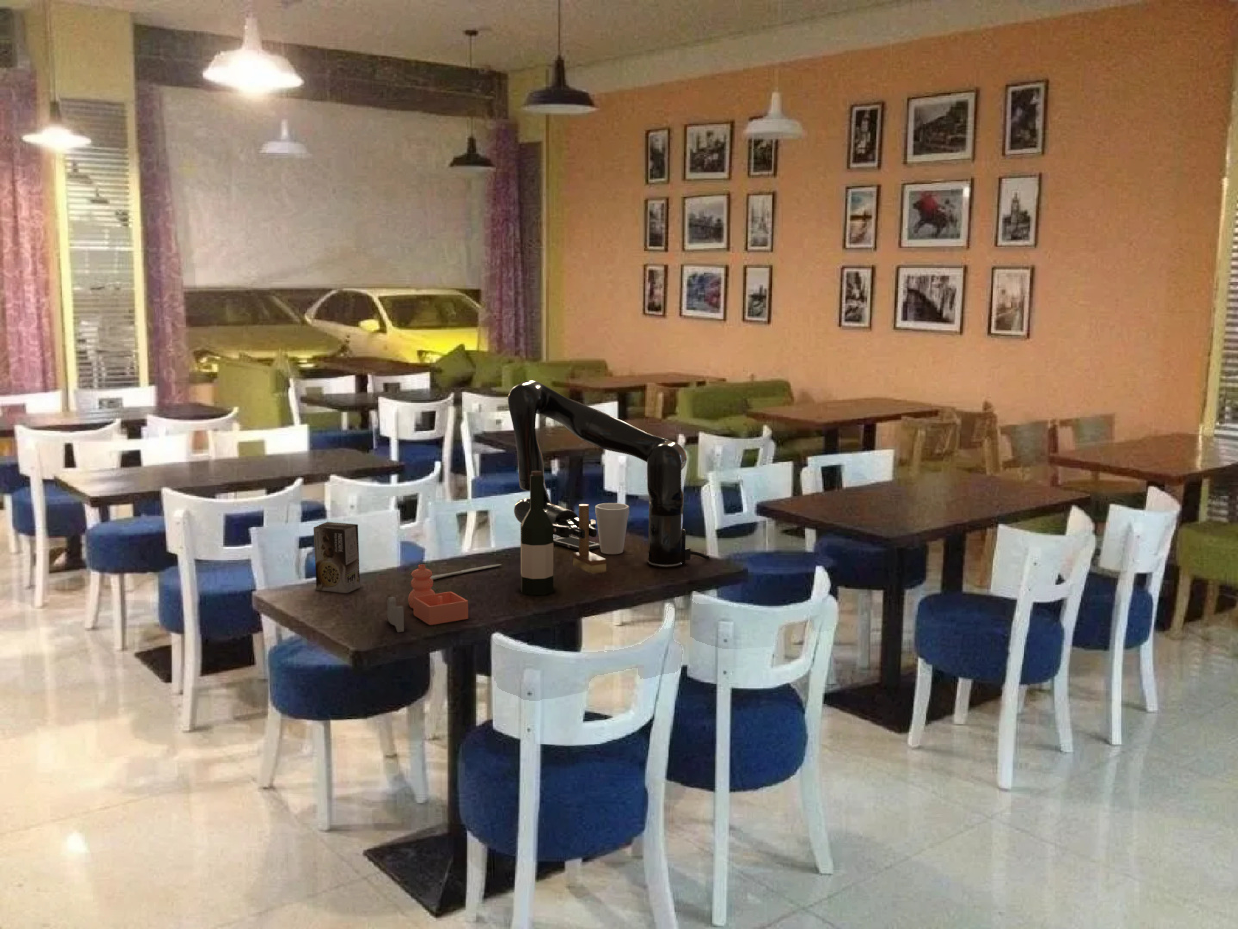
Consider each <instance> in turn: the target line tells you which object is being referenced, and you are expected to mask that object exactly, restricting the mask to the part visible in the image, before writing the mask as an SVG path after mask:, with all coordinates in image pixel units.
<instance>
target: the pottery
mask: <svg viewBox="0 0 1238 929" xmlns="http://www.w3.org/2000/svg"><path fill="white" fill-rule="evenodd" d="M417 567H418V568H416V569H414V570H413V571H412V572H411V573H410V574H411V577H412V579H411V581H410V586H411V588H412V590H411V591H410V593H409V595H408V598H407V599H408V600H407V601H408V604H409V607H410V608H411V609H413V616H414V617H415V618H417V619H419V620H421V621H422V622H424V623H425V624H427V625H428V626H433V625H439V624H444V623H452V622H456V621H457V622H458V621H462V620H468V619H469V600H468V599H465V598H464V597H462V596H460V595H459V594H457V593H456V592H453V591H444V592H439V593H436V592H435V591H434V590H433V589H432V588H433V586H434V580H432V579H431V578H430V577H431V576H433V571H432V570H431V569H428V568H426V564H417Z"/></svg>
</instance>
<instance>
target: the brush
mask: <svg viewBox="0 0 1238 929" xmlns="http://www.w3.org/2000/svg"><path fill="white" fill-rule="evenodd" d="M578 518H579V528H581V529H583V530H585V538H583V539H582V538H579V537H578V538H579V550H578V551H577V552H572V565H573V566H574V567H576V568H578V569H581V570H583V571H584V572H587V573H589V574H591V575H592V574H598V573H599V574H600V573H605V572H607V558H604V557H602V556H600V555H599V554H595V553H593V552H591V551H590V550H589V541H590V536H589V521H590V504H589V503H580V504H578Z"/></svg>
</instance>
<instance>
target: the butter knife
mask: <svg viewBox="0 0 1238 929" xmlns="http://www.w3.org/2000/svg"><path fill="white" fill-rule="evenodd" d="M500 566H501V564H490V565H484V566H477V567H472V568H466V569H462V570H458V571H452V572H447V573H442V574H441V573H440V574H435V575H433V574H432V576H431V577H430V578H431V579H432V580H433V581H435V580H438V579H442V578H447V577H451V576H457V575H461V574H464V573H469V572H475V571H479V570H480V571H481V570H486V569H490V568H495V567H500Z"/></svg>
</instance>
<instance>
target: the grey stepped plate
mask: <svg viewBox="0 0 1238 929" xmlns="http://www.w3.org/2000/svg"><path fill="white" fill-rule="evenodd" d="M396 604H397V600H396V597H395V596H389V597H387V612H386V617H387V620H388V622H389V624H390V625H392V626H394V627H395V630H396V632H397V633H403V632H405V614H404V611H405V610H404V609H405V608H404V605H396Z"/></svg>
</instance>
